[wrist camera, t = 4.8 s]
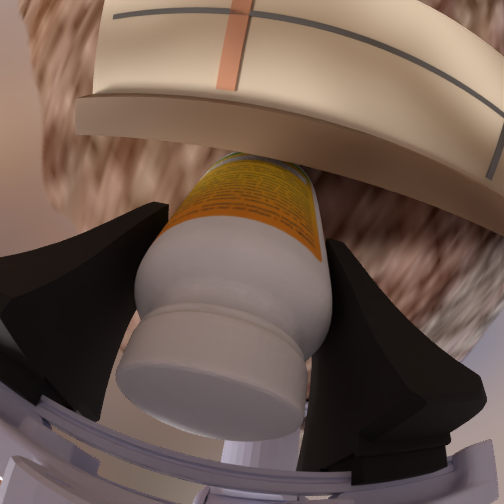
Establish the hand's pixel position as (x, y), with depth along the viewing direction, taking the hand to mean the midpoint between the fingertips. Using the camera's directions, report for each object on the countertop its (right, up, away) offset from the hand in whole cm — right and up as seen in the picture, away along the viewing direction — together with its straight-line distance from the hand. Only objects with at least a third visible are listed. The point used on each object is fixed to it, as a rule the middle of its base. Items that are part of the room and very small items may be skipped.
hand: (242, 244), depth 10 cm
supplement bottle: (+1, +2, +3) cm, 4 cm away
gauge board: (+4, +7, -1) cm, 8 cm away
